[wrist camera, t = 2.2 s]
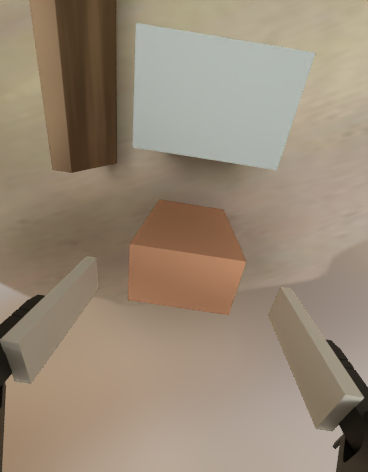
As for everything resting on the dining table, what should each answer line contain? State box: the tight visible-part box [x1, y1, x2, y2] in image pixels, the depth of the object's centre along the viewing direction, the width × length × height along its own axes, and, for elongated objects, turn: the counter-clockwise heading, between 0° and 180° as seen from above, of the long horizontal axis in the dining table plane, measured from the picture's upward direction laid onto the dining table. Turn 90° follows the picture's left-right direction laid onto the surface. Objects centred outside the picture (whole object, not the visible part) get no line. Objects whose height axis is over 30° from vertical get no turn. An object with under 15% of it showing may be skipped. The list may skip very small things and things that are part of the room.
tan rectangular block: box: [128, 200, 246, 315], centre depth 20 cm, size 8×5×12 cm, turn 82°
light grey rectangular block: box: [132, 23, 315, 170], centre depth 15 cm, size 8×5×12 cm, turn 82°
